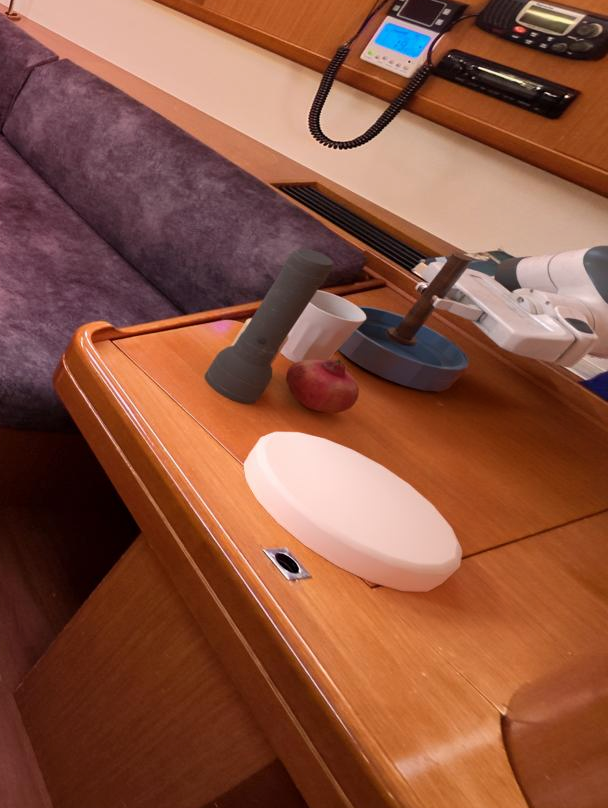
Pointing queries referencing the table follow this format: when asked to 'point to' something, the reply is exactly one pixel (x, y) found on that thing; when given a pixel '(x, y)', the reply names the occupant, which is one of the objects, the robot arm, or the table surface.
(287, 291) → the flashlight
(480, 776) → the table surface
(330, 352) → the cup
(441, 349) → the bowl
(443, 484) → the table surface
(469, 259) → the stick
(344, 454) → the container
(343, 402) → the fruit
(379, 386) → the table surface
